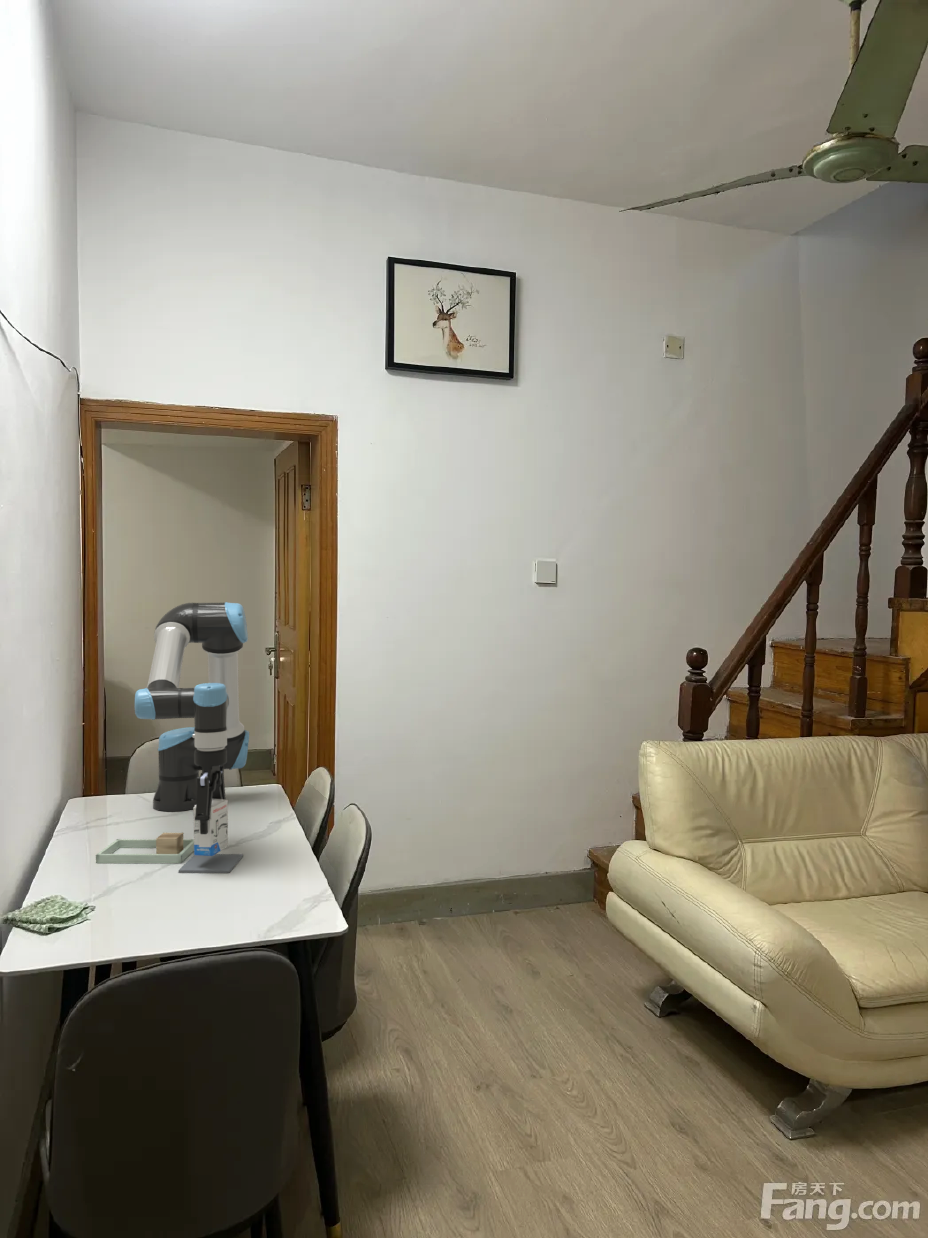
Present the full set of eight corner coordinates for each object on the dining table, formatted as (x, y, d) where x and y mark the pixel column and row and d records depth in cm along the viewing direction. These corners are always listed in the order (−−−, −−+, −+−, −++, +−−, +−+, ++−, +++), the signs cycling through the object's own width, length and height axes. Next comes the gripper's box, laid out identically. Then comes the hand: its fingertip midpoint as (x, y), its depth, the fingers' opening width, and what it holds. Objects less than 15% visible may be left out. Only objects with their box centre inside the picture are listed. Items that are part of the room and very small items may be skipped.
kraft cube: (163, 852, 212) (163, 832, 211) (183, 852, 212) (183, 832, 211) (156, 858, 207) (156, 838, 206) (176, 858, 207) (176, 838, 206)
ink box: (211, 857, 197) (211, 807, 197) (192, 855, 198) (192, 806, 198) (229, 846, 206) (228, 798, 205) (210, 844, 207) (210, 797, 206)
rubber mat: (194, 856, 208) (194, 854, 208) (242, 856, 208) (242, 854, 208) (178, 873, 196) (178, 870, 196) (229, 873, 196) (229, 870, 196)
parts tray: (117, 846, 215) (117, 839, 215) (197, 847, 215) (197, 839, 215) (95, 863, 203) (95, 855, 203) (180, 863, 203) (180, 855, 203)
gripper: (208, 739, 212) (209, 827, 213) (179, 757, 190) (180, 854, 191) (238, 739, 212) (238, 827, 213) (212, 757, 190) (213, 855, 191)
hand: (211, 840), depth 202 cm, fingers closed on ink box, 9 cm apart
